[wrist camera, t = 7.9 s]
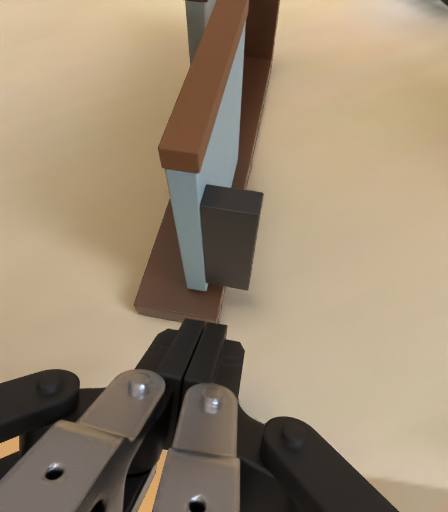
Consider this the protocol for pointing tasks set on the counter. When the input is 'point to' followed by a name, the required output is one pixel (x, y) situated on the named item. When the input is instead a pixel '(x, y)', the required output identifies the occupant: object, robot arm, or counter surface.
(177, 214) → the window pane
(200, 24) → the window frame
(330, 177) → the counter surface
